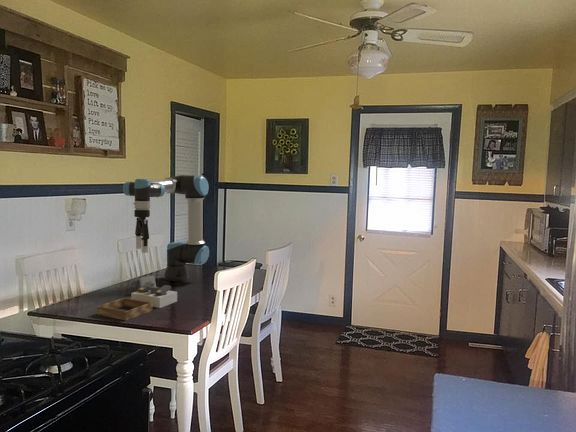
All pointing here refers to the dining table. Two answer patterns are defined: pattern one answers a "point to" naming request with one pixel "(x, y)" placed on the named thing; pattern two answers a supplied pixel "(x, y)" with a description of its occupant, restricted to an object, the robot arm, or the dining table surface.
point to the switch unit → (156, 297)
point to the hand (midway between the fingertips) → (141, 250)
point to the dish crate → (113, 312)
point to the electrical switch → (146, 281)
